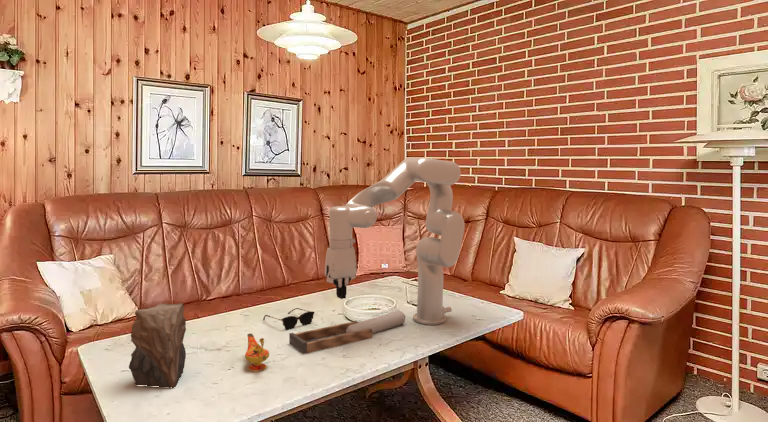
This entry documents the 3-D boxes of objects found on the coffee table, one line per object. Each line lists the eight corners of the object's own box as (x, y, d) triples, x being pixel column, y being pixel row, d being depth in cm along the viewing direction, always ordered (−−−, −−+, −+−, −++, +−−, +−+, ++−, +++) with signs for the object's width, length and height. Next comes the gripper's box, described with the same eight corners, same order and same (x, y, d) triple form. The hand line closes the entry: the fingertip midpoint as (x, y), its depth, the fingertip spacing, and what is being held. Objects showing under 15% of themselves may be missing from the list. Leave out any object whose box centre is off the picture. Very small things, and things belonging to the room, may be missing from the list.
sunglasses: (282, 332, 177) (281, 318, 177) (259, 323, 189) (259, 310, 189) (315, 324, 187) (314, 310, 186) (291, 316, 199) (290, 303, 198)
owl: (127, 386, 134) (124, 313, 132) (152, 367, 147) (150, 299, 144) (174, 389, 133) (171, 315, 131) (195, 369, 146) (193, 301, 144)
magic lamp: (260, 352, 159) (260, 318, 157) (275, 375, 143) (275, 337, 141) (238, 355, 156) (237, 321, 154) (250, 379, 140) (250, 340, 138)
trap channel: (356, 329, 181) (356, 319, 181) (372, 338, 173) (372, 328, 172) (289, 343, 166) (289, 333, 166) (303, 354, 158) (303, 343, 157)
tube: (354, 331, 168) (406, 315, 185) (344, 322, 171) (397, 307, 188) (350, 344, 170) (403, 327, 187) (341, 335, 173) (393, 319, 190)
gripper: (354, 239, 175) (354, 291, 177) (315, 244, 166) (316, 298, 169) (366, 243, 169) (366, 296, 171) (326, 248, 160) (327, 304, 163)
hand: (341, 297), depth 170 cm, fingers closed
